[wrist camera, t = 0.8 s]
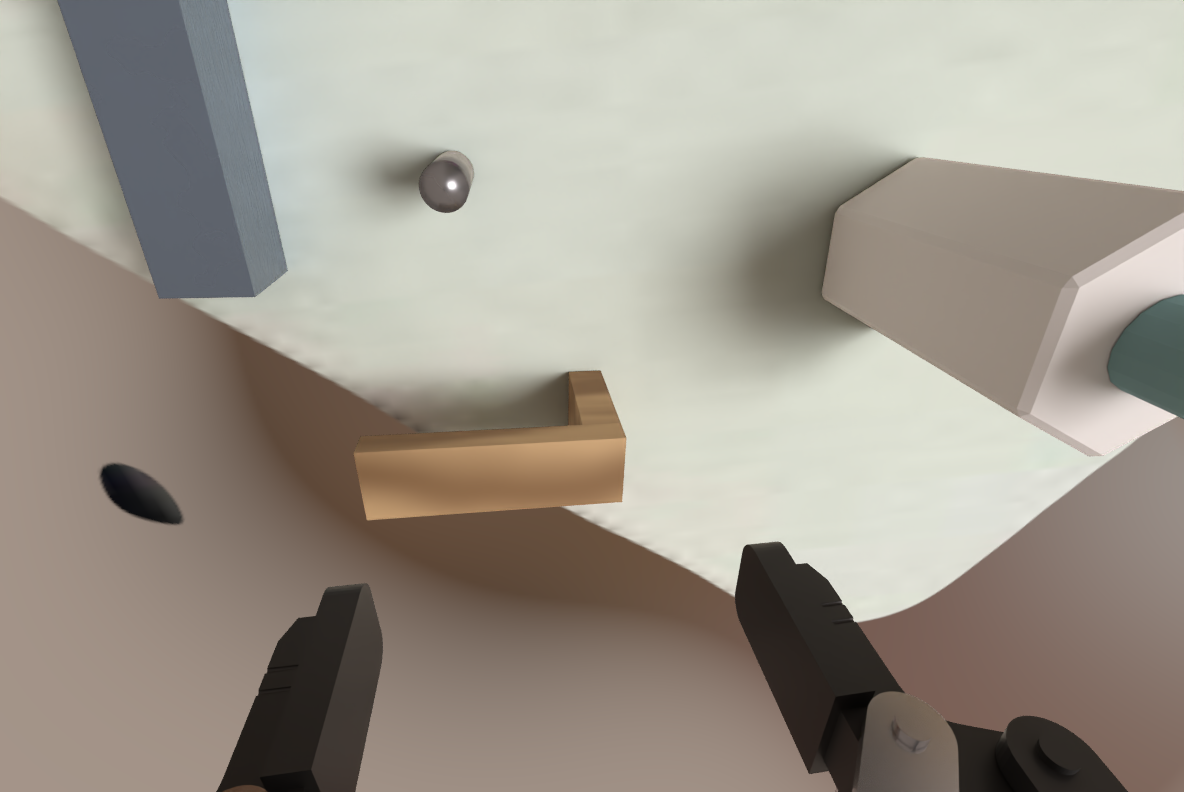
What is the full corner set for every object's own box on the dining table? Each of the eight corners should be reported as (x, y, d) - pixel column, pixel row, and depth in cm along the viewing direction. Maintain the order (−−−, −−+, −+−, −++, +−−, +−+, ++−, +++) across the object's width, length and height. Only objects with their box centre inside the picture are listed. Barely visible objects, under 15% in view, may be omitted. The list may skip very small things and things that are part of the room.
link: (-3, -275, 20) (-128, -369, 16) (213, -251, 21) (146, -333, 17) (173, 272, 29) (121, 299, 25) (317, 270, 30) (290, 296, 26)
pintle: (431, 150, 28) (416, 161, 23) (472, 151, 28) (466, 162, 23) (435, 192, 29) (421, 212, 24) (475, 192, 29) (470, 212, 24)
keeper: (384, 378, 33) (353, 453, 26) (600, 370, 35) (626, 438, 28) (393, 436, 35) (367, 520, 28) (598, 425, 37) (621, 501, 30)
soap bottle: (941, 321, 37) (1424, 560, 18) (812, 333, 36) (1174, 600, 17) (989, 153, 32) (1721, 230, 13) (840, 160, 31) (1398, 256, 12)
